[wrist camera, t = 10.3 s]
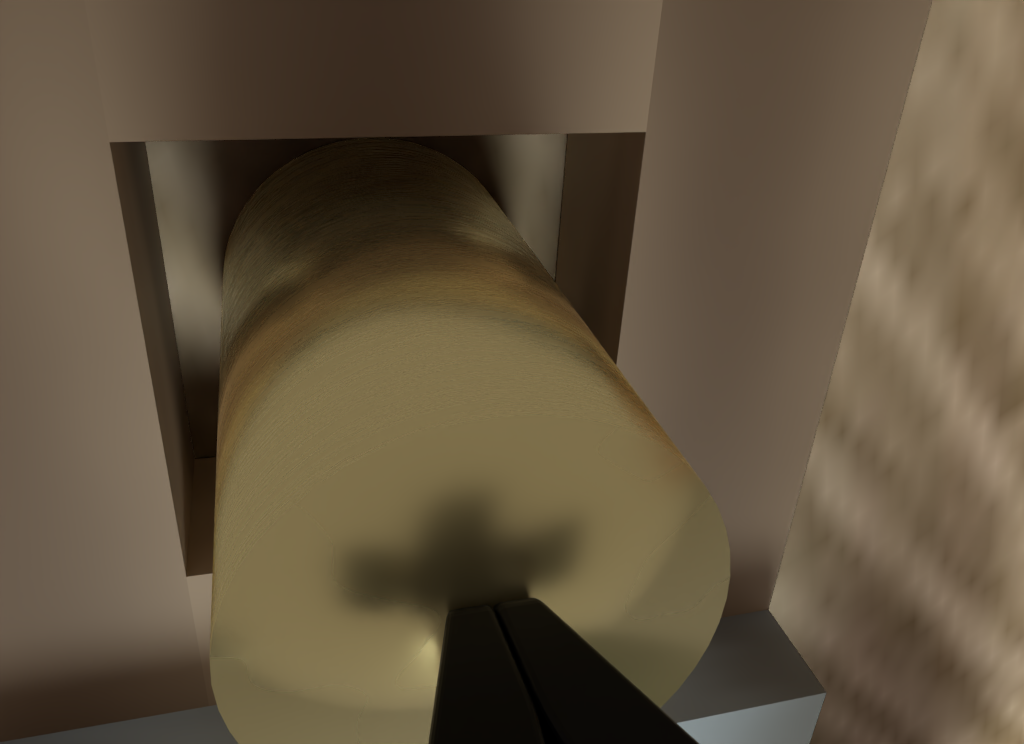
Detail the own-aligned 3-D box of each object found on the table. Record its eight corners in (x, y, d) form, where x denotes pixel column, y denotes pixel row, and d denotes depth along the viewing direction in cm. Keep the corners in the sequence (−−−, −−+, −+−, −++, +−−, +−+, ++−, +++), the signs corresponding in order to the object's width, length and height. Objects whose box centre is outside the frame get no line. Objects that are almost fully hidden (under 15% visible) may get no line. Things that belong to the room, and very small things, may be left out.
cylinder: (521, 135, 14) (775, 388, 7) (506, 391, 16) (688, 757, 10) (205, 140, 13) (171, 449, 6) (238, 416, 15) (239, 854, 9)
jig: (825, -110, 13) (1089, -92, 9) (686, 579, 20) (801, 767, 16) (-268, -175, 10) (-639, -192, 6) (17, 685, 17) (-56, 959, 13)
